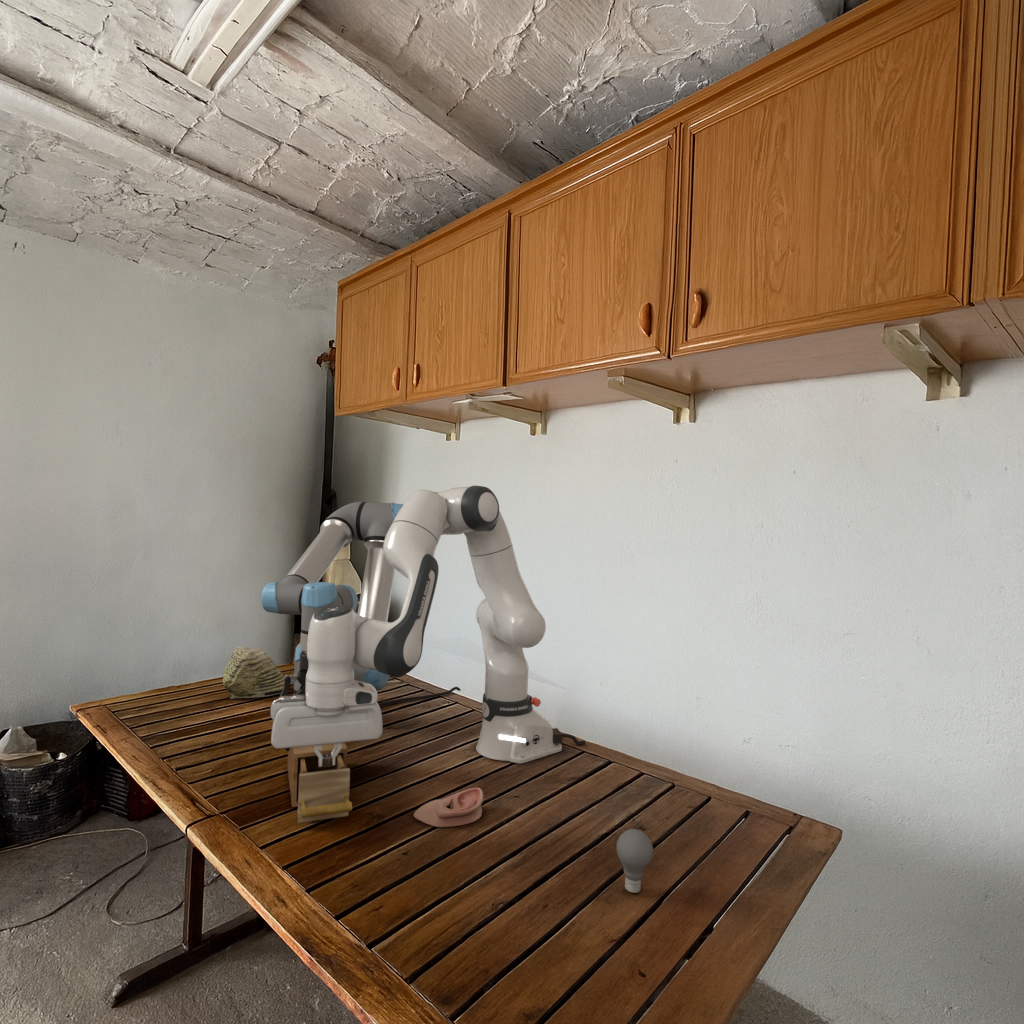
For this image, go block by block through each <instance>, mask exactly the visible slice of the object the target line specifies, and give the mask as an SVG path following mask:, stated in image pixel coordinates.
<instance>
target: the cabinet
mask: <svg viewBox="0 0 1024 1024" xmlns="http://www.w3.org/2000/svg"><path fill="white" fill-rule="evenodd" d="M346 743H347V742H342V748H341V750H340V751H339V753H340V754H341V757H342V760H343V763H344V766H345V768H348V747H347V744H346ZM333 749H334V745H333V743H331V744H322V749H321V750H320V751H321V753H322V755H323V754H331V752H332V751H333ZM309 756H317V755H316V753H315V751H314V748H313V745H310V746H300V747H290V751H287V776H288V785H289V793H290V802H291V808H296V807H297V808H298V789H297V772H298V758H300V757H309Z"/></svg>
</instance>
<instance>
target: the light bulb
mask: <svg viewBox="0 0 1024 1024" xmlns="http://www.w3.org/2000/svg"><path fill="white" fill-rule="evenodd" d="M615 849H616V854H617V857H618V859H619V861H620V863H621V865H622V867H623V873H624V874H623V875H624V876H625V878H624V888H625V890H627V891H628V892H630V893H634V894H635V893H639V892H640V891H641V889H642V887H641V886H642V879H643V877H644V875H645V871H646V868H647V867H648V866H649V864H650V863H651V861H652V859H653V855H654V847H653V843H652V841H651V838H649V836H648V835H647V834H646V833H645V832H643V831H642V830H641V829H636V828H629V829H627V830H625V831H623V832H622V833H621V834H620V835H619V837H618V839H617V841H616V847H615Z"/></svg>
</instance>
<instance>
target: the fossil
mask: <svg viewBox="0 0 1024 1024" xmlns="http://www.w3.org/2000/svg"><path fill="white" fill-rule="evenodd" d="M222 676H223V677H222V685H223V687H224V688H225V690H226V691H228V693H229V698H230V699H250V698H264V697H271V696H275V695H280V694H281V692H282V689H283V686H284V680H285V675H284V674H283V673H282V672H281V669H279V668H278V667H277V665H276V663H275V662H274V660H273V659H272V658H271V657H270V656H269V655H268V654H267V653H266V652H265V650H264V649H263V648H260V647H258V648H251V647H247V646H246V647H245V646H238V647H237V648H236V649H235V650H233V651H232V653H231V656H230V657H229V659H228V660H227V663H226V666H225V668H224V671H223V675H222Z"/></svg>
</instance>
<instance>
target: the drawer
mask: <svg viewBox="0 0 1024 1024" xmlns="http://www.w3.org/2000/svg"><path fill="white" fill-rule="evenodd" d="M350 782H351V769H350V767H347V768H345V766H344V763H343V760H342V757H341V754H340V753H338V755H337V756H336V757H335V766H325V767H319V758H318V756H309V757H300V758H298V772H297V789H298V806H297V823H298V824H301V823H308V822H314V821H321V820H329V819H336V818H341V817H348V816H349V812H352V811H353V803H352V801H350V789H351V788H350V787H351V783H350Z"/></svg>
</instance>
